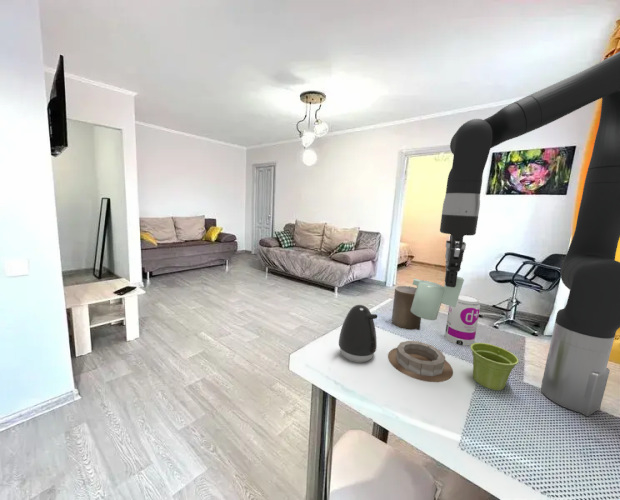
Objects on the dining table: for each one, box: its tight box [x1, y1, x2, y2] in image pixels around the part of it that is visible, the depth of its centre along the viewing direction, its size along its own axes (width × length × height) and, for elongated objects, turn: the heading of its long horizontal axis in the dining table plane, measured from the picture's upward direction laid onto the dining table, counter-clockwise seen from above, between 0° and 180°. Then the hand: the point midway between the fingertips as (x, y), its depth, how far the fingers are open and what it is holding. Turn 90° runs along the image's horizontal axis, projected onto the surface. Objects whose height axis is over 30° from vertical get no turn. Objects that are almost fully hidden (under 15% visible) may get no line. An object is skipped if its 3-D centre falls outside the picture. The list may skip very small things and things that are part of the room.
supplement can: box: [444, 293, 481, 347], centre depth 84 cm, size 8×8×15 cm
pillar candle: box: [391, 285, 422, 331], centre depth 94 cm, size 10×10×15 cm
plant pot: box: [470, 342, 519, 391], centre depth 64 cm, size 9×9×9 cm
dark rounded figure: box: [338, 304, 378, 363], centre depth 72 cm, size 10×10×15 cm
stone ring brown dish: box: [387, 340, 454, 383], centre depth 71 cm, size 16×16×4 cm
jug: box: [411, 276, 465, 321], centre depth 67 cm, size 11×6×12 cm, turn 65°
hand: (449, 284), depth 65 cm, fingers closed on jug, 2 cm apart
